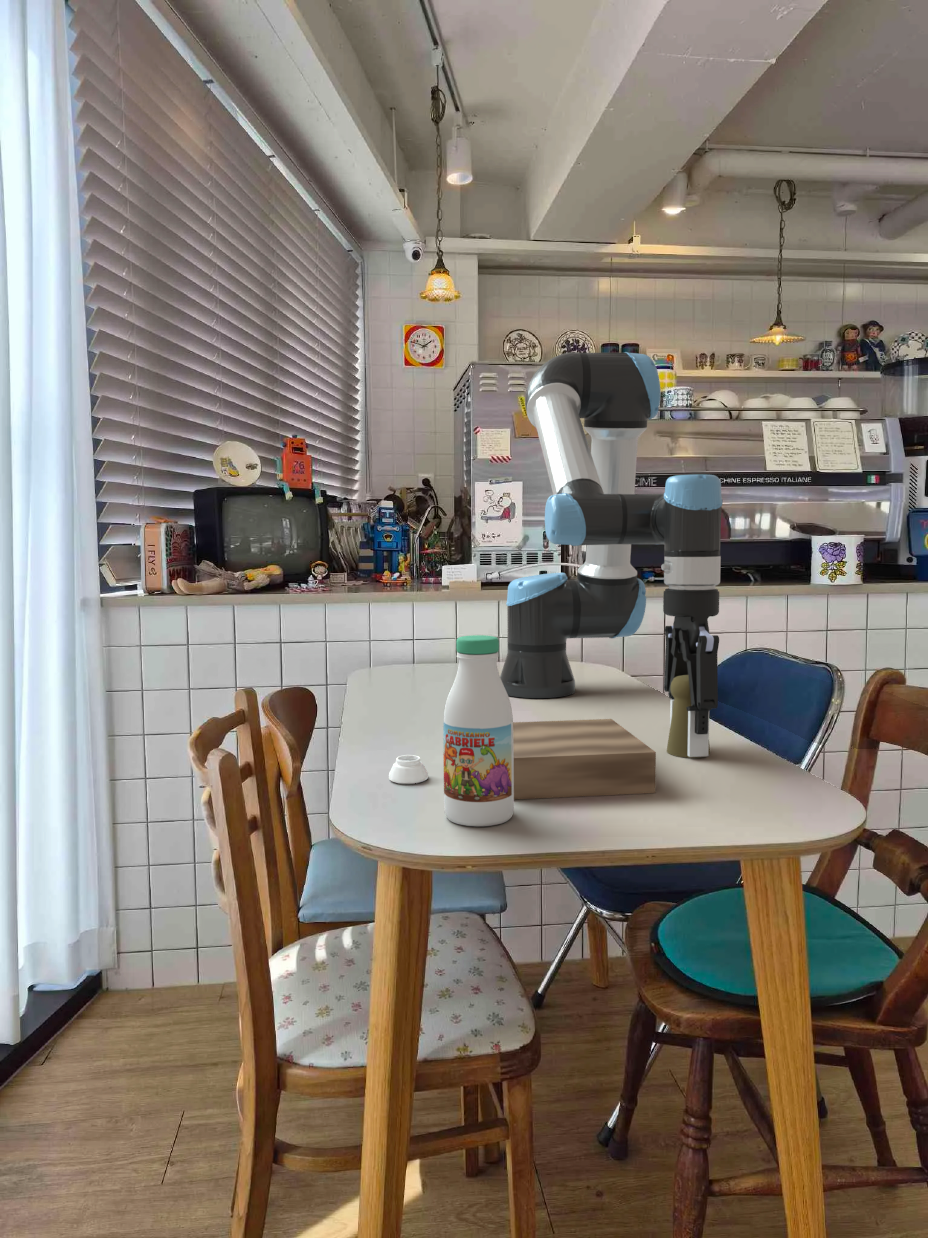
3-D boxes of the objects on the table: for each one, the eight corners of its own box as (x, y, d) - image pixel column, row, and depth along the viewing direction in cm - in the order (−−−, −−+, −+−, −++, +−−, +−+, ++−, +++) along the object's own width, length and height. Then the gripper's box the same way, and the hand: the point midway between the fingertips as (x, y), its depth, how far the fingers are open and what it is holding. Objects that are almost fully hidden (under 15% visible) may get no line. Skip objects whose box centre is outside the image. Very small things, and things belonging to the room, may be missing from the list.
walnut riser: (485, 758, 113) (485, 723, 112) (611, 753, 115) (611, 718, 114) (507, 800, 95) (506, 758, 94) (655, 792, 97) (655, 752, 96)
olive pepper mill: (712, 758, 111) (714, 680, 110) (667, 757, 112) (668, 679, 111) (708, 747, 117) (709, 672, 116) (665, 746, 118) (666, 671, 117)
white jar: (389, 775, 106) (388, 787, 101) (388, 753, 105) (388, 764, 100) (427, 774, 106) (428, 785, 101) (427, 752, 106) (428, 762, 101)
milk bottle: (448, 804, 94) (446, 632, 92) (515, 805, 93) (514, 632, 91) (439, 827, 86) (437, 641, 84) (512, 829, 85) (511, 641, 83)
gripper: (642, 583, 121) (640, 734, 124) (692, 592, 103) (689, 769, 105) (690, 583, 122) (687, 732, 125) (748, 591, 103) (744, 767, 106)
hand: (688, 749), depth 115 cm, fingers closed on olive pepper mill, 6 cm apart
